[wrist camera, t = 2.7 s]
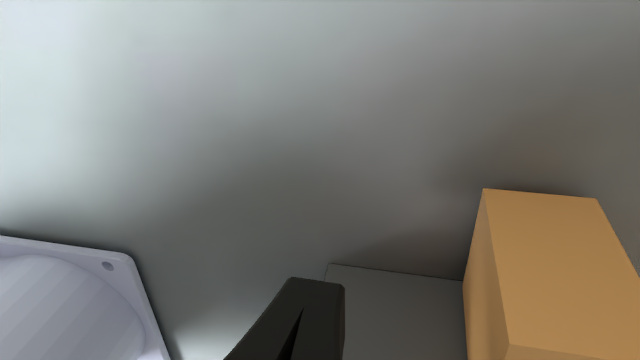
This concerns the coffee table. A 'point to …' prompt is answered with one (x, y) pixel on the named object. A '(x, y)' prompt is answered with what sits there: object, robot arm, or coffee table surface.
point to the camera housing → (400, 315)
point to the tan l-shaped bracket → (548, 282)
